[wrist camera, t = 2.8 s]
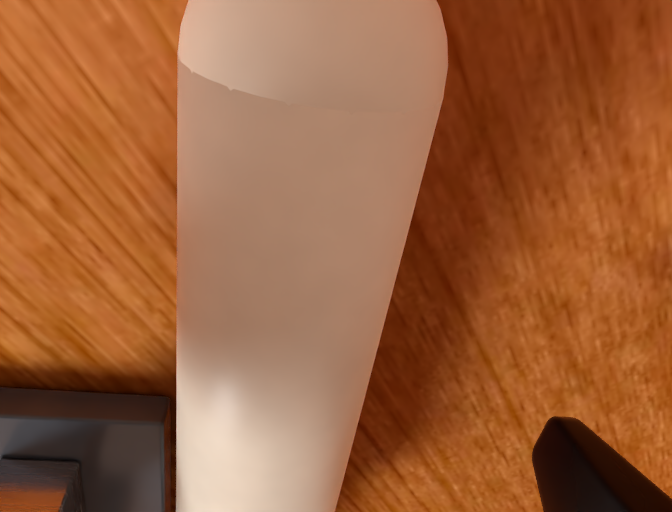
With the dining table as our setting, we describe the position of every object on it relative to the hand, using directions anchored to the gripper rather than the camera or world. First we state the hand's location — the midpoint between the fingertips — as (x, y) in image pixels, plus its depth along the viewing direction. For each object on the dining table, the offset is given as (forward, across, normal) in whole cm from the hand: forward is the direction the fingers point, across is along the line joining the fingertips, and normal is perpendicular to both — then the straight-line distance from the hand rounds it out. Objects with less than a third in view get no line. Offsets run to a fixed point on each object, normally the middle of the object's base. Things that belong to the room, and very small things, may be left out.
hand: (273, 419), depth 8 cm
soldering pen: (+3, 0, -1) cm, 3 cm away
